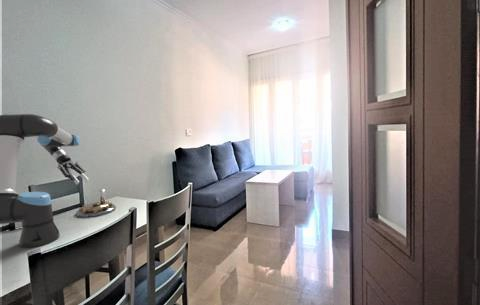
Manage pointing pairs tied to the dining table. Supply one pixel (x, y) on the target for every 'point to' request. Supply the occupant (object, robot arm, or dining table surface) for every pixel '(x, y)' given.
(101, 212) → the grey plate
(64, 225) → the dining table surface
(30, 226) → the robot arm
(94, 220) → the dining table surface
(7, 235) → the dining table surface
